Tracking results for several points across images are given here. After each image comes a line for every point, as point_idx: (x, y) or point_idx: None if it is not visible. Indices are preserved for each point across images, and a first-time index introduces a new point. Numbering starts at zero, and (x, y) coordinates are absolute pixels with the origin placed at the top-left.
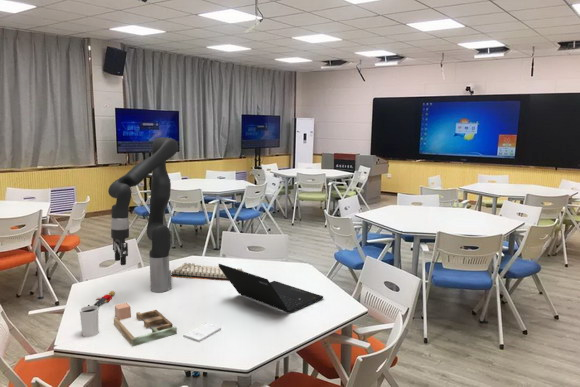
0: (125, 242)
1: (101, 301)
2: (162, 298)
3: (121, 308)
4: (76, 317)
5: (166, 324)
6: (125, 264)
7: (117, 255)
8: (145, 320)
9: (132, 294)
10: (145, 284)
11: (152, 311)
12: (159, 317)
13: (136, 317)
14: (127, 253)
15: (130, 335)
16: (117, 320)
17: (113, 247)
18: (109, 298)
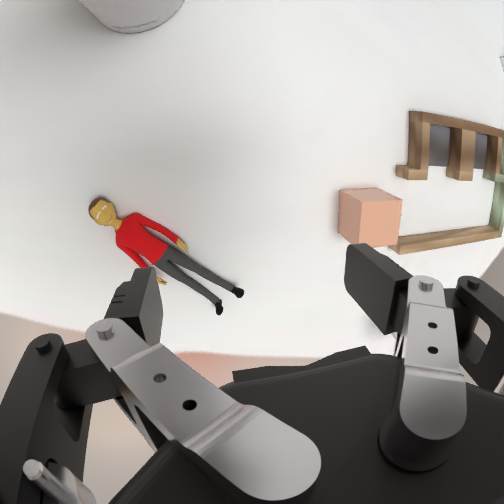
0: (460, 426)
1: (192, 266)
2: (265, 16)
3: (398, 233)
4: (268, 336)
5: (499, 143)
6: (363, 245)
7: (152, 325)
8: (462, 177)
9: (130, 118)
10: (37, 52)
11: (428, 129)
12: (468, 135)
13: (398, 175)
14: (493, 294)
15: (489, 235)
16: (418, 247)
17: (81, 426)
18: (145, 225)
